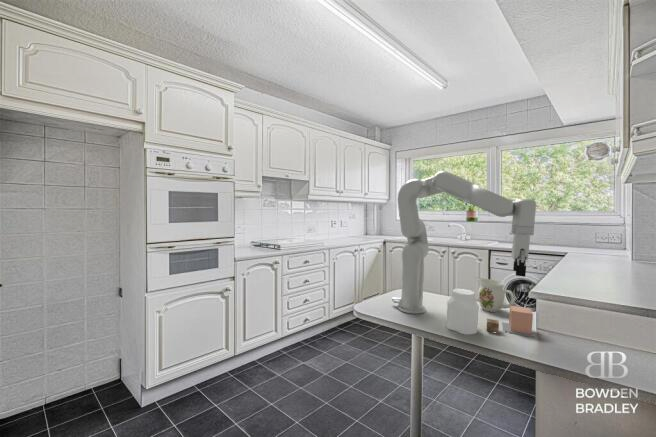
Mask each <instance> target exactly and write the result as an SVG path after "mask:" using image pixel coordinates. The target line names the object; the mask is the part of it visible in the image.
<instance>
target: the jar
mask: <svg viewBox="0 0 656 437" xmlns="http://www.w3.org/2000/svg"><path fill="white" fill-rule="evenodd" d="M446 306H447V308H446V309H447V310H446V321H445V327H446V328H447V329H448V330H450V331H454V332H457V333H460V334H462V335H475V334H477V333H478V331H479V330H478V323H479V308H480V304H478V302H477V300H476V292H475V291H472V290H470V289H468V288H467V289H466V288H454V289H452V292H451V296H450V297H449V299H448V300H447V303H446Z"/></svg>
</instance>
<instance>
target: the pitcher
mask: <svg viewBox="0 0 656 437" xmlns="http://www.w3.org/2000/svg"><path fill="white" fill-rule="evenodd" d="M474 280H476V281H477V283H478V284H479V288H478V293H477V297H478V303H479V307H480V308H481V309H482V310H483V309H484V310H483V311H485V310H486V311H485V312H488V311H490V313H498V312H499V311H500V310H501V309H510V306H514V304H515V295H514V293H513V292H512V291H511V290H508V289H506V290H505V289H504V287H505V283H504V282H502V281H499V280H495V279H489V278H482V277H474ZM505 294H509V295H510V297H511V298H510V302H509V304H506V305H504V301H505Z"/></svg>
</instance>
